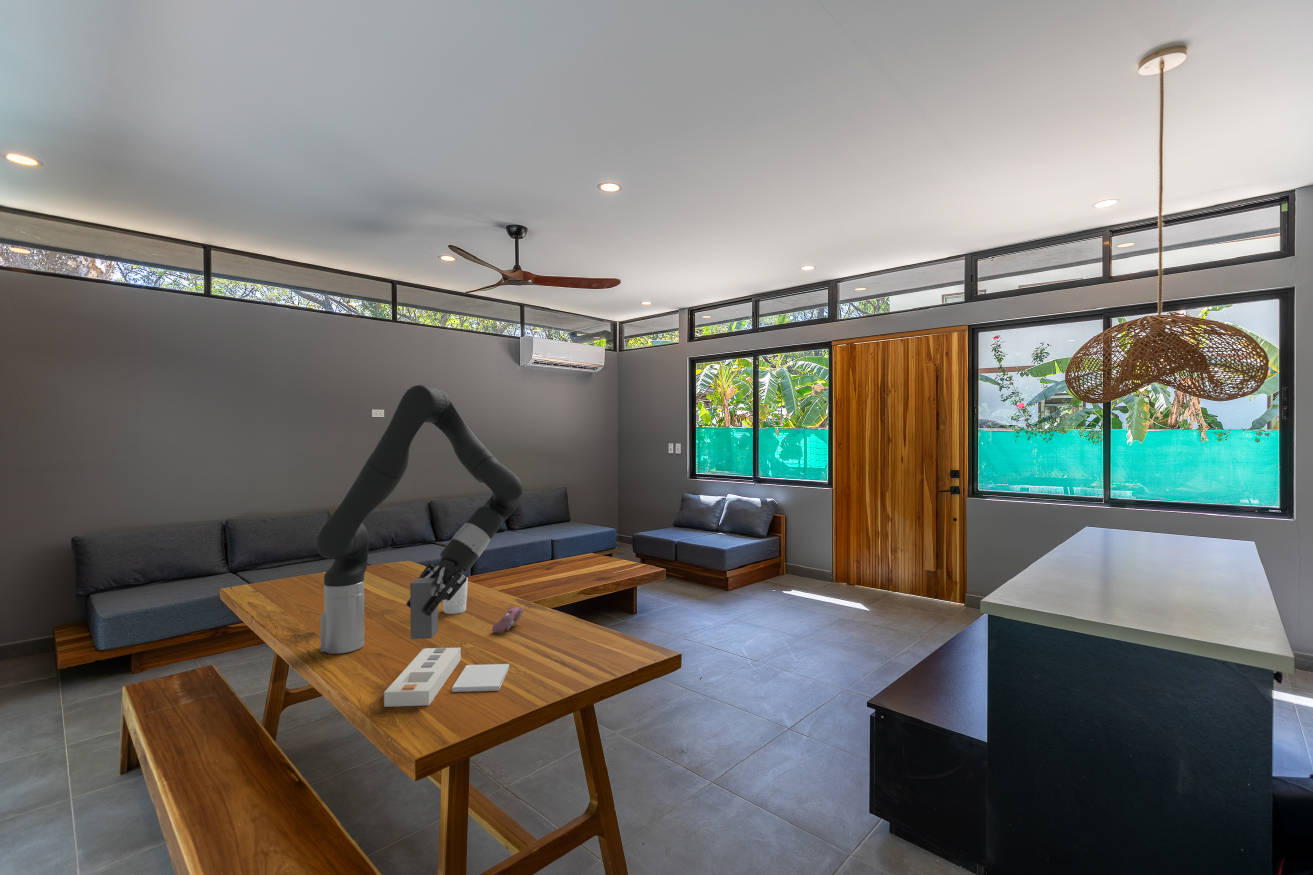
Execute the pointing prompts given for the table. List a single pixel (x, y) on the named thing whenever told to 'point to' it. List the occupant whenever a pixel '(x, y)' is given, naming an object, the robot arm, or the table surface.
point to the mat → (481, 678)
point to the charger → (418, 598)
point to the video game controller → (508, 620)
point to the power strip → (422, 677)
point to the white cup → (457, 601)
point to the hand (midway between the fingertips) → (417, 610)
